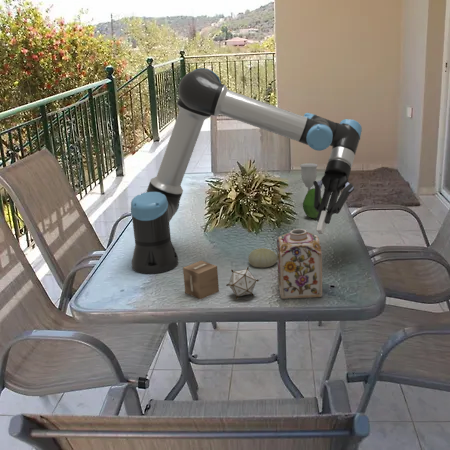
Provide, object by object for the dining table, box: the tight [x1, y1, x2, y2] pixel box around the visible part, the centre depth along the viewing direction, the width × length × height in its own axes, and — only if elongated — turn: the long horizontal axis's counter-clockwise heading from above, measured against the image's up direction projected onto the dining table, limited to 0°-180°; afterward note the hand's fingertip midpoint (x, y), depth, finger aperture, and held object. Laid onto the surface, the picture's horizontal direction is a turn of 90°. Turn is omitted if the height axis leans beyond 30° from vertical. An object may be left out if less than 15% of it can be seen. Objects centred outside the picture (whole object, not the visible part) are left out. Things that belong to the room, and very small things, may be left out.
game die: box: [225, 266, 260, 300], centre depth 166 cm, size 9×8×10 cm
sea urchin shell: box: [248, 247, 277, 269], centre depth 188 cm, size 9×8×8 cm
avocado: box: [302, 187, 322, 219], centre depth 229 cm, size 8×8×12 cm
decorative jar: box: [276, 228, 323, 300], centre depth 165 cm, size 12×12×18 cm
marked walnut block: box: [182, 260, 220, 300], centre depth 170 cm, size 7×7×8 cm
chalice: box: [299, 162, 318, 192], centre depth 241 cm, size 7×7×18 cm
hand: (319, 232), depth 175 cm, fingers closed
